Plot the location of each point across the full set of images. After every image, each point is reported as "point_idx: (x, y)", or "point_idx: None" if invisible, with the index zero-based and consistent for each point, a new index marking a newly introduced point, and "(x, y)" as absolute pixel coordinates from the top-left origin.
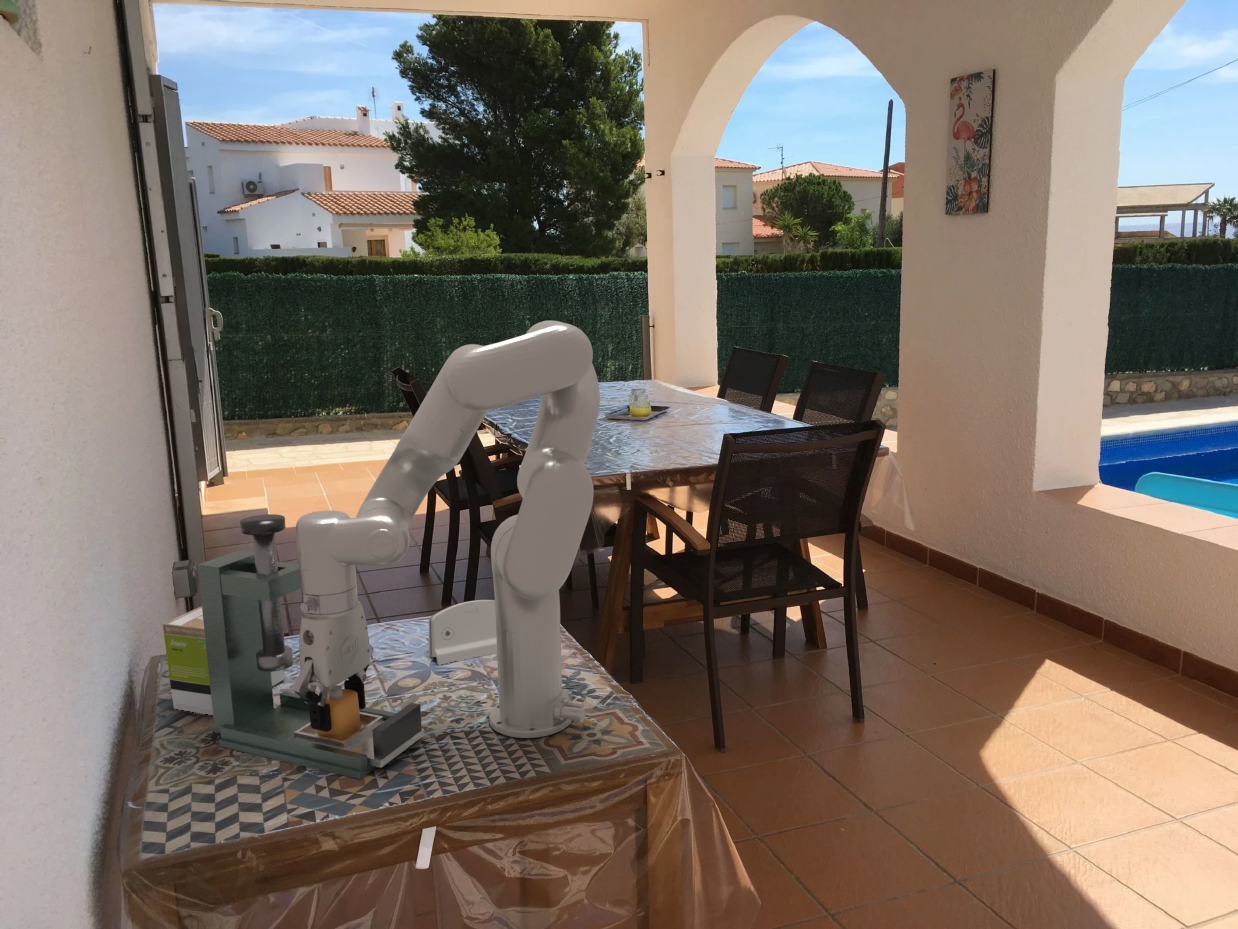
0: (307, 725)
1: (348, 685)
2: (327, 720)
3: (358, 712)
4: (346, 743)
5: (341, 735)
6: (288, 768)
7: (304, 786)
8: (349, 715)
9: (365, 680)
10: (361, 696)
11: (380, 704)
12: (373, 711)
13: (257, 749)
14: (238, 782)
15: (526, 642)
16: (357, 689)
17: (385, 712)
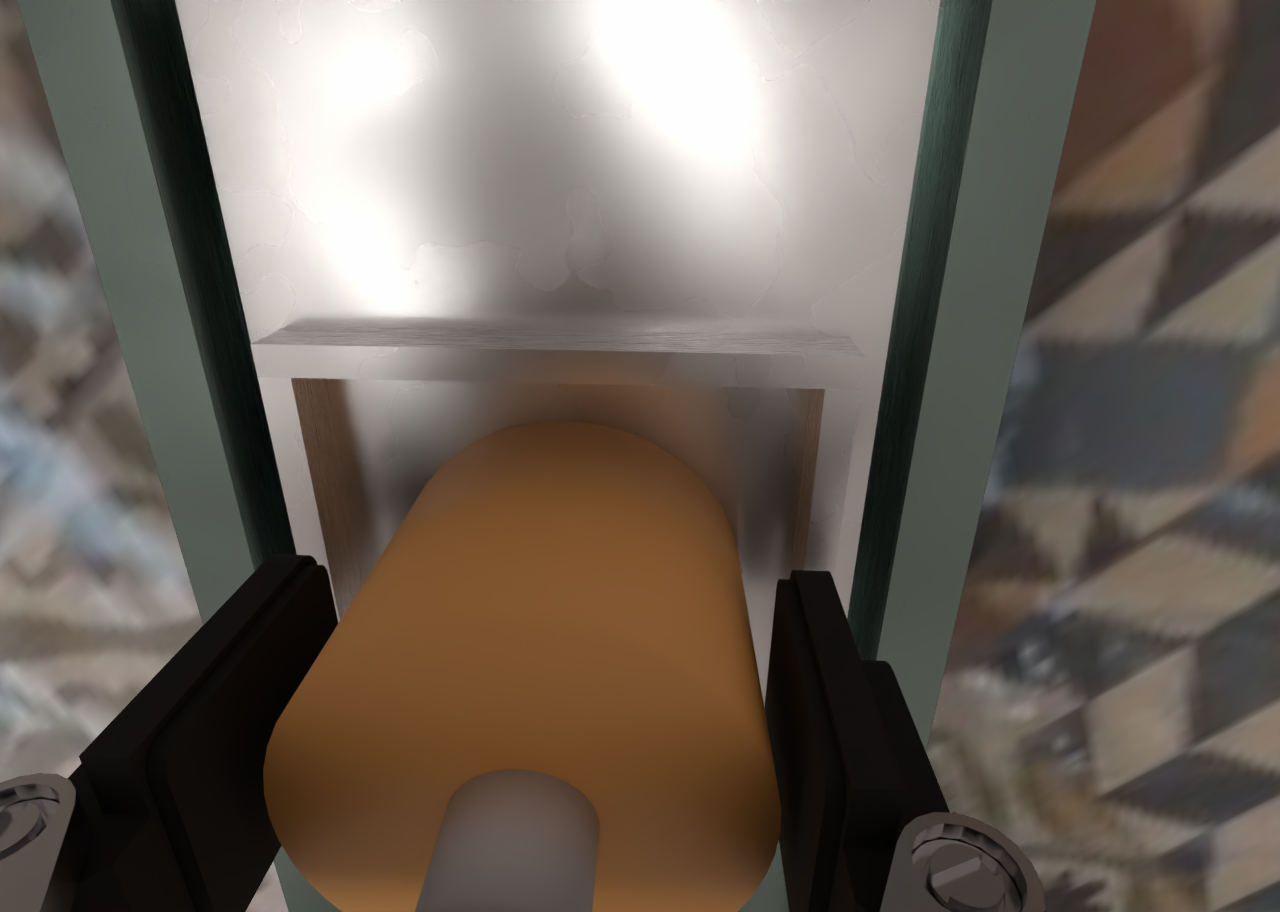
0: None
1: (227, 872)
2: (852, 646)
3: (451, 515)
4: (820, 350)
5: (691, 488)
6: (969, 614)
7: (1190, 378)
8: (601, 533)
9: (13, 779)
10: (244, 645)
11: (22, 609)
12: (216, 503)
13: None
14: (1177, 750)
15: None
16: (211, 746)
17: (163, 394)
